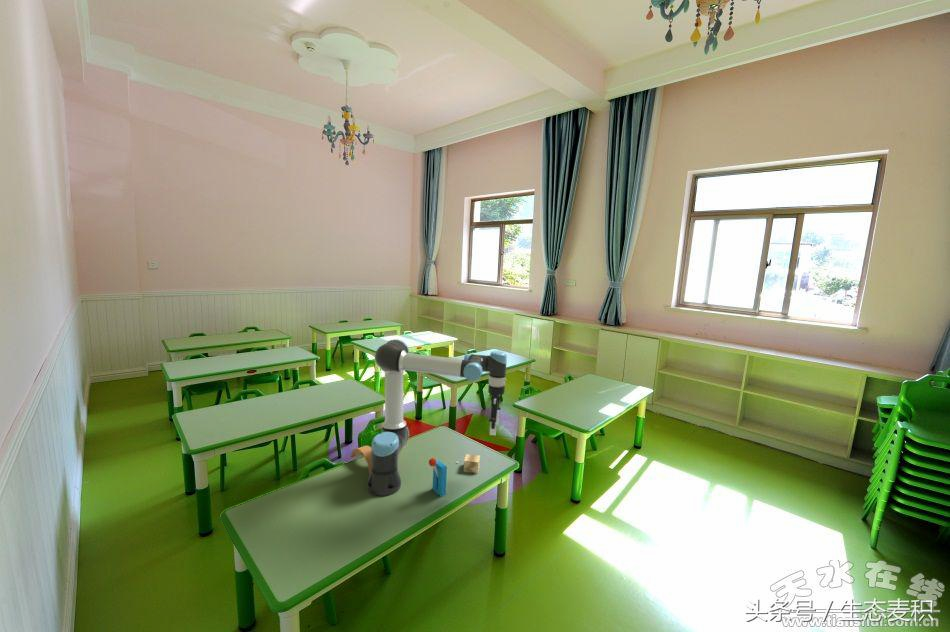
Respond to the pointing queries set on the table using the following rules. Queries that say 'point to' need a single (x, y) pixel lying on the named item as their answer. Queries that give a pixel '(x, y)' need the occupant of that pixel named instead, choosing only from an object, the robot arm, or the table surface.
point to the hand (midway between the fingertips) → (494, 428)
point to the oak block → (471, 463)
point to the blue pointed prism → (439, 476)
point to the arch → (366, 452)
